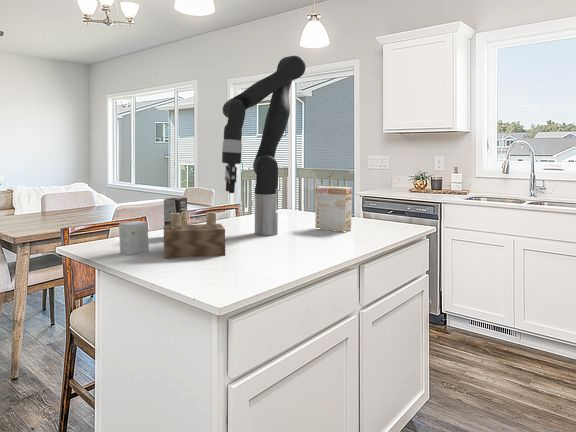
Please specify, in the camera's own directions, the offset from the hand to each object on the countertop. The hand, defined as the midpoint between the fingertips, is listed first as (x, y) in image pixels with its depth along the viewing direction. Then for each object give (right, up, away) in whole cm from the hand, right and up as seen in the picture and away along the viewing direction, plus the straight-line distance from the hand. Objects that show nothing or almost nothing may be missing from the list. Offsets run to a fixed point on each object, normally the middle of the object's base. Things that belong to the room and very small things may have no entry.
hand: (229, 192), depth 184 cm
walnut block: (-9, -22, -25) cm, 35 cm away
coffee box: (-22, -19, +2) cm, 29 cm away
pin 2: (-3, -16, -24) cm, 29 cm away
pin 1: (-15, -17, -27) cm, 35 cm away
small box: (-30, -22, -24) cm, 45 cm away
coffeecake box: (+44, -16, +23) cm, 52 cm away
